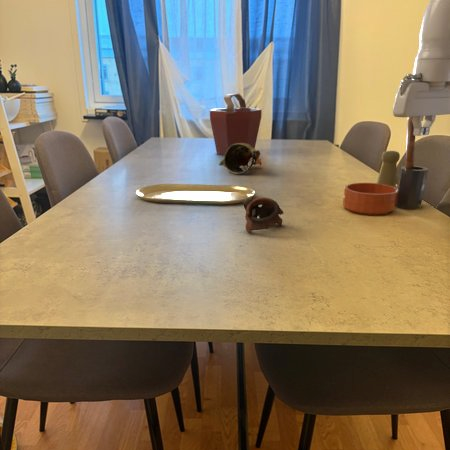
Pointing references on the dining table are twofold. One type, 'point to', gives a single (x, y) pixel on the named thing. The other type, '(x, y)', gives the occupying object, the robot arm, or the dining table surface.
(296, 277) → the dining table surface
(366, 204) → the bowl
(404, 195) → the utensil pot
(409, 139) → the stirring stick
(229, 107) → the bucket
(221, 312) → the dining table surface
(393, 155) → the pepper mill
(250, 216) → the dark brown hollow piece
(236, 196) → the serving platter
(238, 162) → the pot
